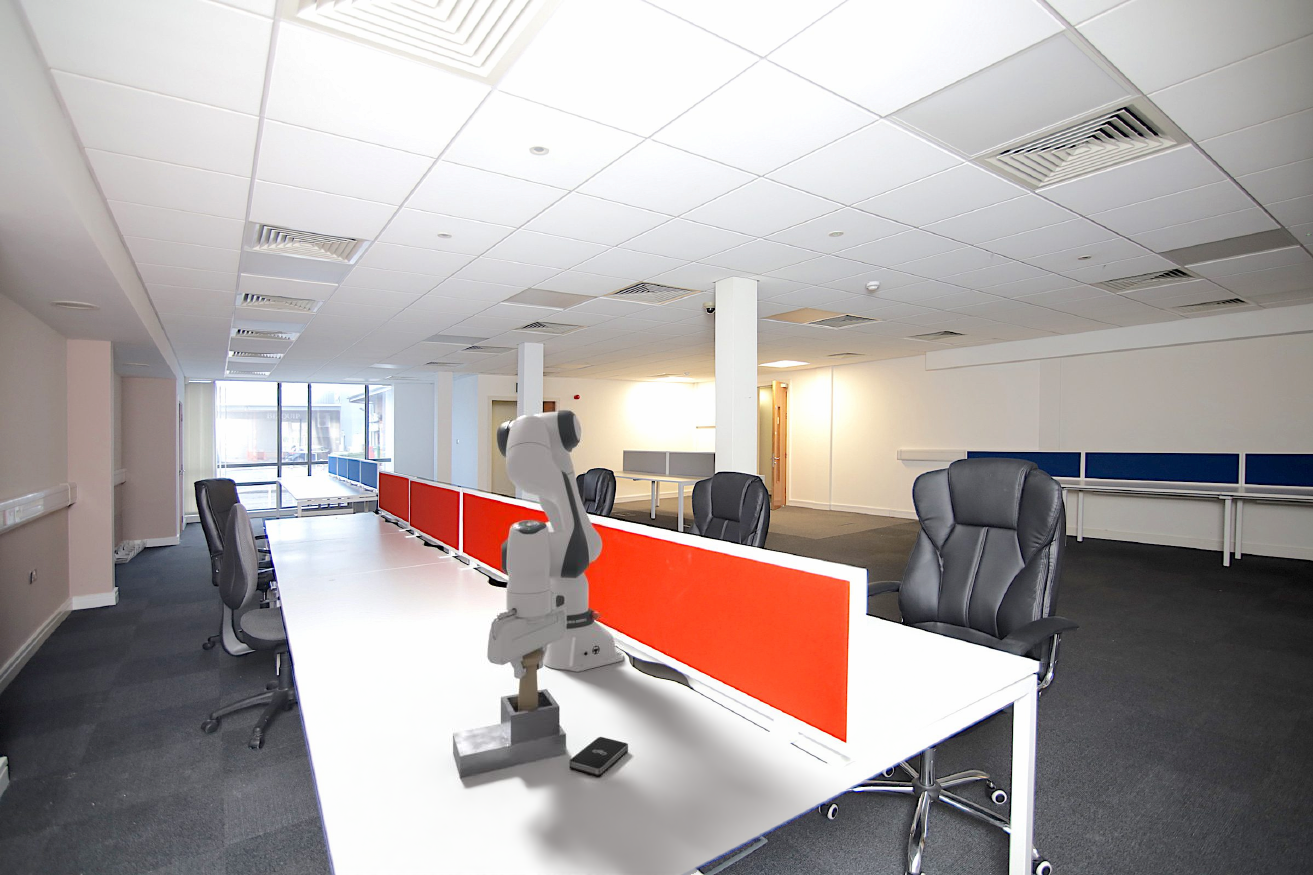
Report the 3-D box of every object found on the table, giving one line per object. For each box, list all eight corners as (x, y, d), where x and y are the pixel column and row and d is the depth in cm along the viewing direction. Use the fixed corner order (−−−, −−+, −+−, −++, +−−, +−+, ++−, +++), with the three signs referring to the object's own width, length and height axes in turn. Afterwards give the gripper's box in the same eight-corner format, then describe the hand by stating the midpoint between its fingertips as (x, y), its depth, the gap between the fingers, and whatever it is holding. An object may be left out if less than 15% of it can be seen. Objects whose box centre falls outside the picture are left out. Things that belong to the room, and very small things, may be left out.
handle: (516, 737, 119) (517, 660, 119) (514, 723, 125) (515, 649, 125) (541, 734, 120) (542, 658, 120) (538, 720, 126) (539, 647, 126)
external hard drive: (629, 753, 121) (629, 743, 121) (599, 781, 112) (599, 769, 112) (599, 746, 125) (599, 736, 125) (567, 771, 115) (567, 761, 115)
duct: (552, 732, 130) (552, 687, 130) (566, 754, 121) (566, 705, 121) (453, 753, 121) (453, 704, 121) (460, 778, 112) (460, 725, 112)
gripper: (505, 618, 112) (505, 694, 112) (571, 594, 130) (571, 659, 130) (479, 613, 115) (479, 687, 115) (548, 590, 133) (548, 654, 133)
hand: (529, 672), depth 123 cm, fingers closed on handle, 4 cm apart
